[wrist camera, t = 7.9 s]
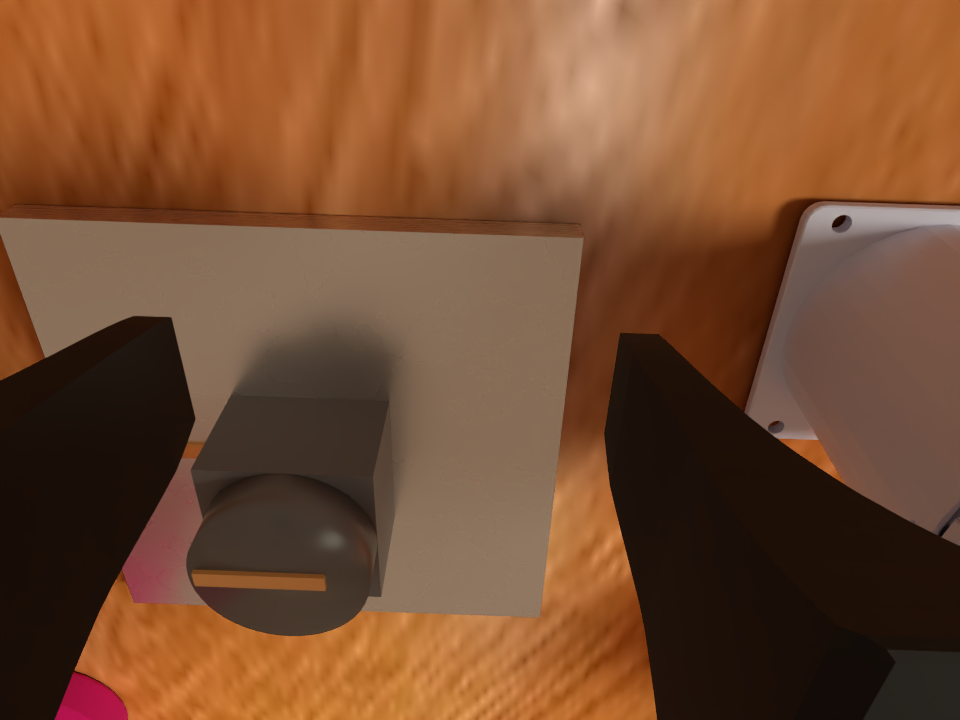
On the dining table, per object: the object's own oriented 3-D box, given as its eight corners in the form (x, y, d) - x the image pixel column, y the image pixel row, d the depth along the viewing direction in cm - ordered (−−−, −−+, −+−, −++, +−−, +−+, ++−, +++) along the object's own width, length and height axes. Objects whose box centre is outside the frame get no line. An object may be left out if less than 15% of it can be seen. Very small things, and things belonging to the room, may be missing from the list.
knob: (389, 401, 22) (363, 521, 18) (395, 515, 25) (373, 643, 21) (231, 395, 22) (166, 513, 18) (253, 510, 25) (202, 637, 21)
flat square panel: (580, 223, 20) (594, 279, 17) (538, 596, 29) (543, 675, 26) (15, 204, 20) (-68, 256, 17) (144, 582, 29) (104, 659, 26)
